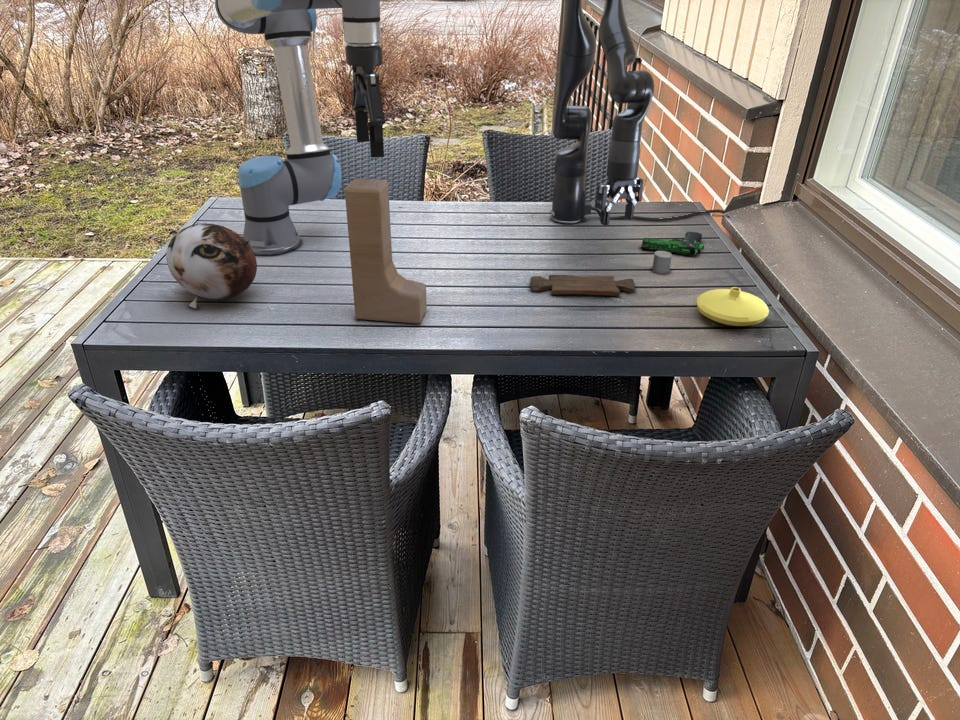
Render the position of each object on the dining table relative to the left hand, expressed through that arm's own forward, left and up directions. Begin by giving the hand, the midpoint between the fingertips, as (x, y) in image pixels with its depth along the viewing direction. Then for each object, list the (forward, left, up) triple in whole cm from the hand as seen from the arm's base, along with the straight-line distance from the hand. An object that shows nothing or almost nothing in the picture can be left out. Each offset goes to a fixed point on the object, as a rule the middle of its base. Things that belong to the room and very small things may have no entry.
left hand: (370, 149), depth 157 cm
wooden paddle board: (+41, +29, -34) cm, 60 cm away
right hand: (+41, +47, -22) cm, 66 cm away
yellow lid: (+76, +33, -34) cm, 89 cm away
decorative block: (+12, -10, -34) cm, 37 cm away
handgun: (+50, +68, -34) cm, 91 cm away
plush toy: (-28, -25, -34) cm, 51 cm away
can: (+53, +50, -34) cm, 80 cm away
